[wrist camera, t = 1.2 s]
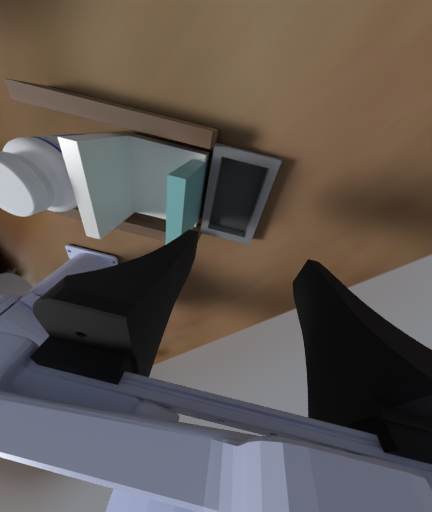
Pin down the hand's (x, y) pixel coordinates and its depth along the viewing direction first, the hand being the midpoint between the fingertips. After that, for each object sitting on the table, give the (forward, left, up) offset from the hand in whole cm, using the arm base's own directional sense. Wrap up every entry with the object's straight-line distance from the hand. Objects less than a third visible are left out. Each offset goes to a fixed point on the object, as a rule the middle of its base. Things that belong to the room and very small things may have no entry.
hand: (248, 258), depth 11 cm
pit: (0, +2, -10) cm, 11 cm away
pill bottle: (0, +17, -11) cm, 20 cm away
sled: (0, +9, -10) cm, 14 cm away
